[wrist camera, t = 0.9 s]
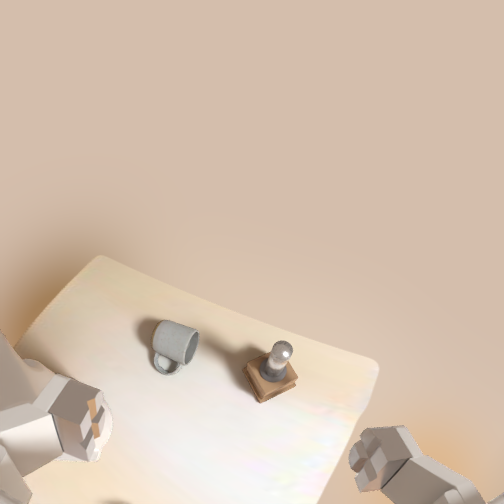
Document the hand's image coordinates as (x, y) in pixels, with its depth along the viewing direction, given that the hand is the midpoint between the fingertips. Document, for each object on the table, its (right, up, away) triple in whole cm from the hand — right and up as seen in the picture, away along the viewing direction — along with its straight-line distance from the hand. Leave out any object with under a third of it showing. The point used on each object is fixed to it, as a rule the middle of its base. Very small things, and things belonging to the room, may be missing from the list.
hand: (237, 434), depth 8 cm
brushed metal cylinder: (+4, -16, +45) cm, 48 cm away
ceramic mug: (-15, -16, +52) cm, 56 cm away
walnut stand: (+4, -20, +50) cm, 54 cm away
